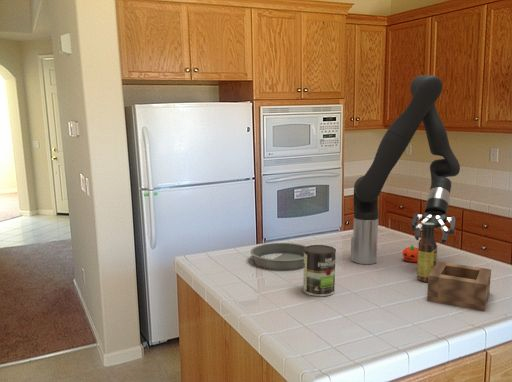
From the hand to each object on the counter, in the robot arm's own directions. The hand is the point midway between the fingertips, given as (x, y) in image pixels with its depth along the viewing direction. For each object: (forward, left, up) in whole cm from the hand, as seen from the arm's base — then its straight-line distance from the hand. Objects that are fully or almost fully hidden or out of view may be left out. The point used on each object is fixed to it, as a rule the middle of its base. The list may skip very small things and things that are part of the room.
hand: (429, 240), depth 163 cm
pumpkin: (-9, +17, -13) cm, 24 cm away
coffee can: (-28, -31, -13) cm, 44 cm away
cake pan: (-53, -9, -14) cm, 56 cm away
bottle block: (+12, -14, -13) cm, 23 cm away
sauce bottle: (0, -3, -13) cm, 14 cm away
